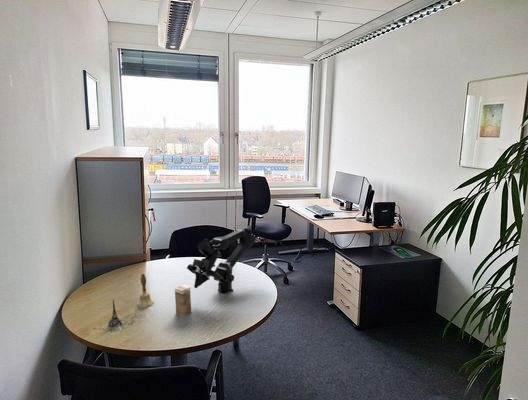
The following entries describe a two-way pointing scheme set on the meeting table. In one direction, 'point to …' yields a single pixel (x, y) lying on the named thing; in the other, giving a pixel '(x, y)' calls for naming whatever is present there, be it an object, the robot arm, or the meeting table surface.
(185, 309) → the wooden block
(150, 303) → the hand bell
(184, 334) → the meeting table surface
